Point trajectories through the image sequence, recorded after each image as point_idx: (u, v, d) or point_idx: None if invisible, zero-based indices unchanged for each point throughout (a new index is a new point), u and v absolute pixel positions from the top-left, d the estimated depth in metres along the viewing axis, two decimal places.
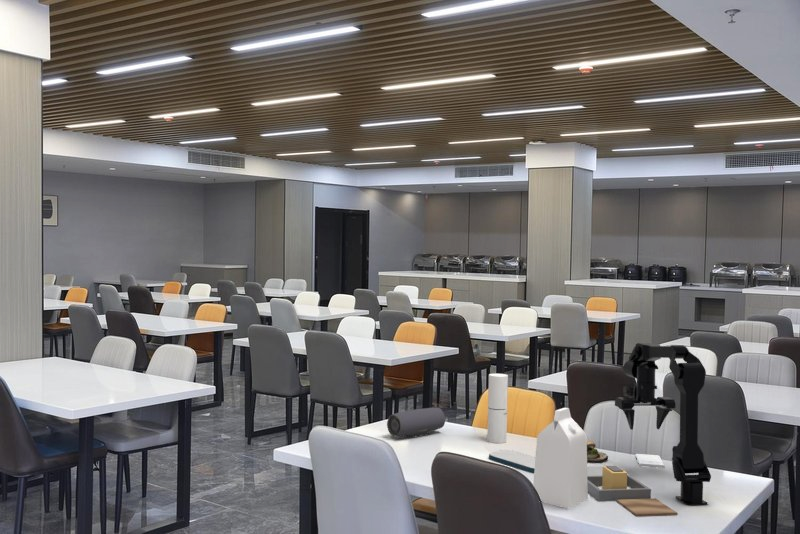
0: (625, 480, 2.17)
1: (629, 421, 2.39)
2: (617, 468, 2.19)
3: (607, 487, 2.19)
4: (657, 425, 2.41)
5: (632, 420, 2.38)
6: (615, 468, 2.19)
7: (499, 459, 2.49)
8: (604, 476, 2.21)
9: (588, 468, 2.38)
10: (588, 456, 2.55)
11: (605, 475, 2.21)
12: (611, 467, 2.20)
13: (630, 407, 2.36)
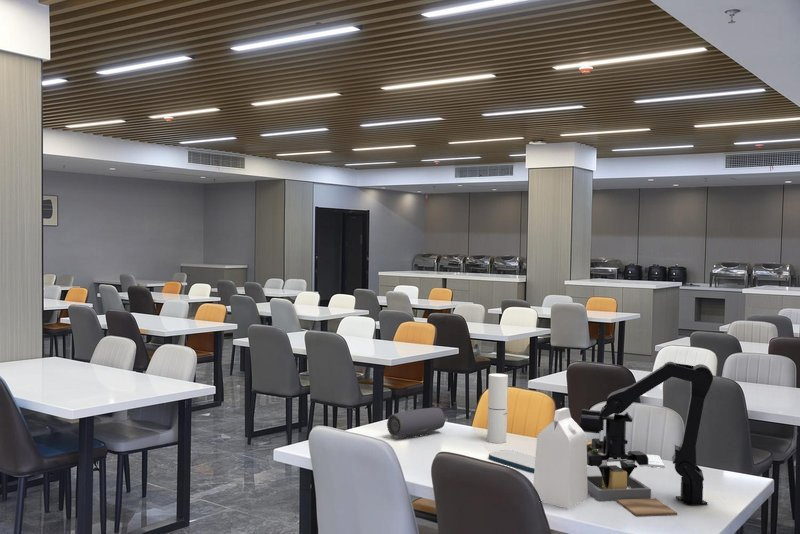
0: (625, 480, 2.17)
1: (604, 478, 2.19)
2: (617, 468, 2.19)
3: None
4: None
5: (607, 478, 2.18)
6: (615, 468, 2.19)
7: (499, 459, 2.49)
8: None
9: (588, 468, 2.38)
10: None
11: None
12: (611, 467, 2.20)
13: (598, 464, 2.16)
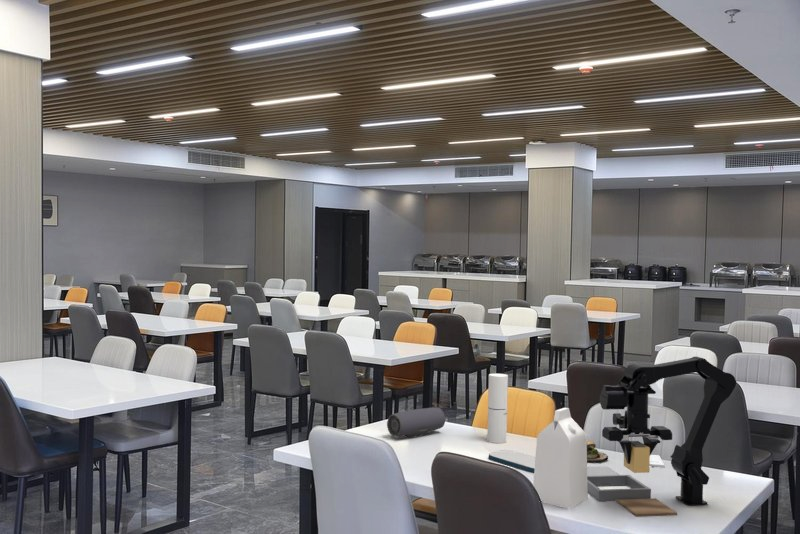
0: (648, 455, 2.08)
1: (626, 454, 2.10)
2: (639, 443, 2.10)
3: None
4: None
5: (629, 453, 2.09)
6: (637, 443, 2.10)
7: (499, 459, 2.49)
8: None
9: (588, 468, 2.38)
10: (588, 456, 2.55)
11: None
12: (633, 442, 2.11)
13: (619, 439, 2.07)
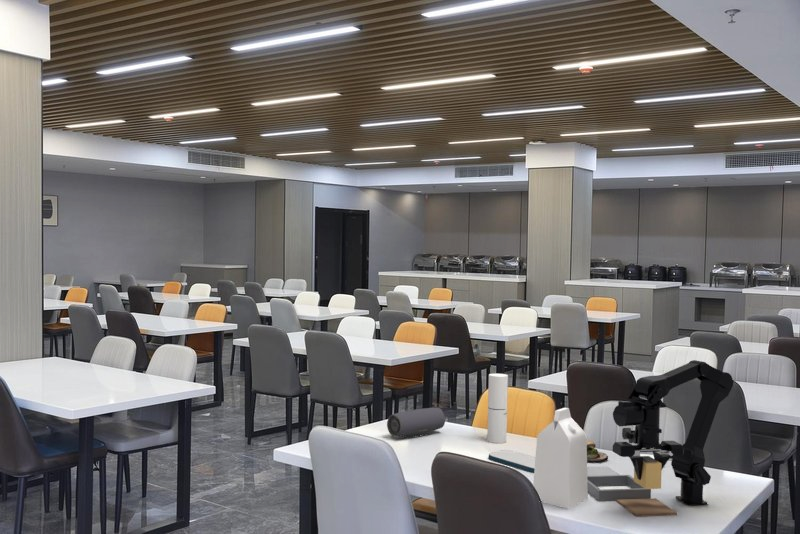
0: (659, 471, 2.03)
1: (637, 470, 2.05)
2: (650, 458, 2.06)
3: None
4: None
5: (640, 469, 2.04)
6: (648, 458, 2.06)
7: (499, 459, 2.49)
8: None
9: (588, 468, 2.38)
10: (588, 456, 2.55)
11: None
12: (644, 457, 2.07)
13: (630, 455, 2.02)
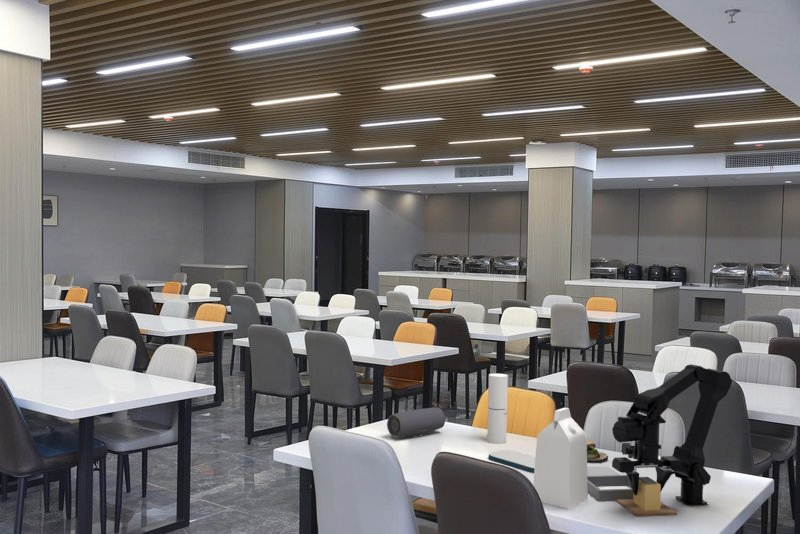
0: (658, 493, 2.03)
1: (633, 486, 2.05)
2: (649, 480, 2.06)
3: (639, 500, 2.06)
4: None
5: (636, 485, 2.04)
6: (647, 480, 2.06)
7: (499, 459, 2.49)
8: None
9: (588, 468, 2.38)
10: (588, 456, 2.55)
11: None
12: (643, 479, 2.07)
13: (630, 470, 2.02)
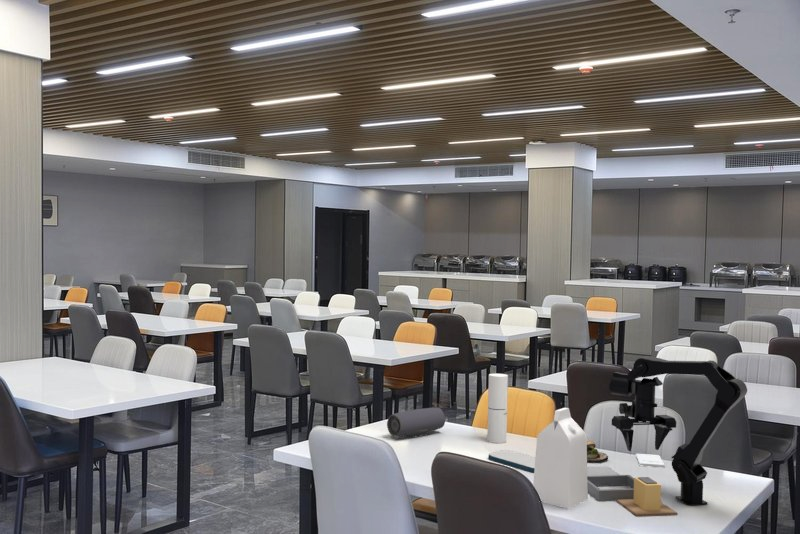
0: (659, 493, 2.03)
1: (627, 442, 2.20)
2: (650, 480, 2.06)
3: (639, 500, 2.06)
4: (656, 445, 2.23)
5: (631, 441, 2.19)
6: (648, 480, 2.06)
7: (499, 459, 2.49)
8: (636, 488, 2.08)
9: (588, 468, 2.38)
10: (588, 456, 2.55)
11: (636, 488, 2.08)
12: (643, 479, 2.07)
13: (629, 427, 2.18)
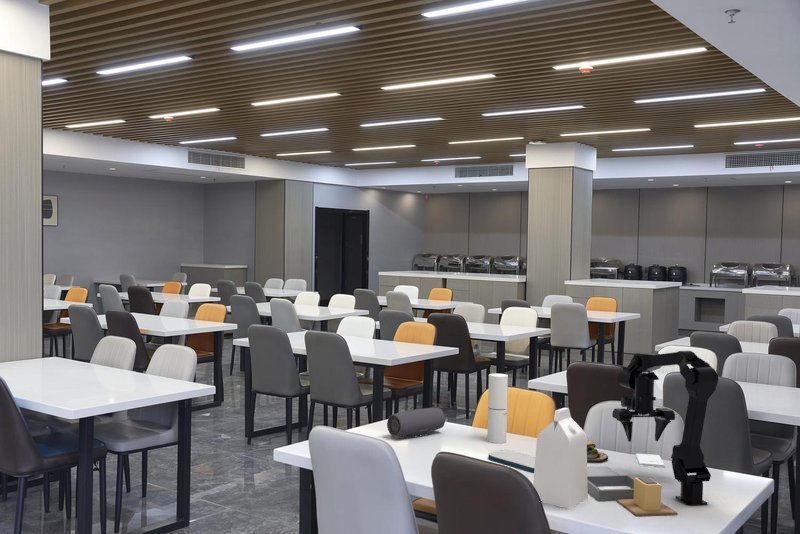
0: (659, 493, 2.03)
1: (627, 433, 2.32)
2: (650, 480, 2.06)
3: (639, 500, 2.06)
4: (656, 437, 2.35)
5: (630, 432, 2.31)
6: (648, 480, 2.06)
7: (499, 459, 2.49)
8: (636, 488, 2.08)
9: (588, 468, 2.38)
10: (588, 456, 2.55)
11: (636, 488, 2.08)
12: (643, 479, 2.07)
13: (628, 419, 2.30)
